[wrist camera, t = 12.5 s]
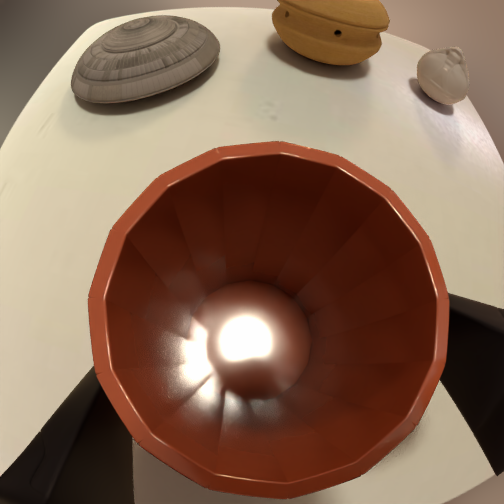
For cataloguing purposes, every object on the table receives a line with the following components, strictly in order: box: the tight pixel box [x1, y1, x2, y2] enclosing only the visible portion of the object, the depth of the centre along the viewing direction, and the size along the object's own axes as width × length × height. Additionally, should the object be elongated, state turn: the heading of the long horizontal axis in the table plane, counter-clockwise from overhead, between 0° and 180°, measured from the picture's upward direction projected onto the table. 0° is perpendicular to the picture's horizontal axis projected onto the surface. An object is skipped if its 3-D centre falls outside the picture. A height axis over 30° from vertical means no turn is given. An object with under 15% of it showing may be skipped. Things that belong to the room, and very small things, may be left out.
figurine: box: [417, 46, 470, 104], centre depth 22 cm, size 6×7×8 cm
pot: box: [272, 0, 390, 65], centre depth 21 cm, size 12×12×10 cm
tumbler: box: [88, 141, 449, 499], centre depth 10 cm, size 7×7×11 cm
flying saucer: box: [71, 16, 220, 103], centre depth 21 cm, size 15×15×6 cm
